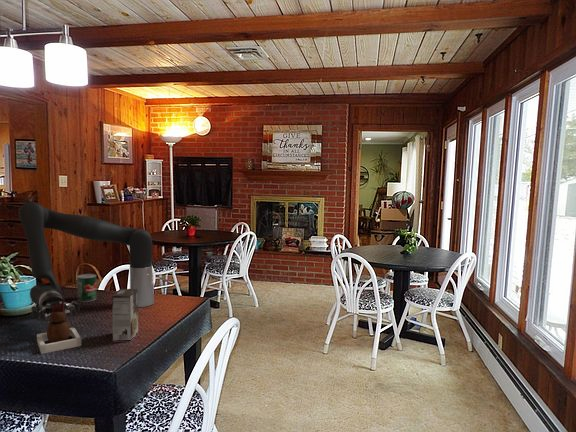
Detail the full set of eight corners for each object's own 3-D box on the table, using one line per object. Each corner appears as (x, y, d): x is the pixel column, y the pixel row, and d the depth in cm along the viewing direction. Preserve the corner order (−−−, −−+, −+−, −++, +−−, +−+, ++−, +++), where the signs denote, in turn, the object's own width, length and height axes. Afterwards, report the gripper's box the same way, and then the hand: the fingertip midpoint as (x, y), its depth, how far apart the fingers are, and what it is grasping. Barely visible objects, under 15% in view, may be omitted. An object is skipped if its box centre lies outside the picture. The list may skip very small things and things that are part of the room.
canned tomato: (90, 302, 182) (90, 278, 181) (73, 301, 182) (73, 277, 181) (100, 297, 189) (99, 274, 188) (83, 296, 190) (83, 273, 189)
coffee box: (120, 331, 148) (120, 288, 146) (138, 331, 148) (138, 288, 147) (111, 341, 138) (111, 295, 137) (131, 341, 139) (130, 295, 138)
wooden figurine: (73, 341, 138) (72, 298, 137) (59, 348, 132) (57, 303, 131) (58, 338, 140) (57, 296, 139) (43, 344, 135) (42, 300, 133)
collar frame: (74, 334, 144) (74, 327, 144) (81, 345, 134) (81, 338, 134) (37, 341, 137) (36, 334, 137) (41, 354, 128) (41, 346, 127)
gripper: (28, 295, 143) (33, 307, 130) (73, 289, 152) (82, 300, 139) (29, 316, 144) (34, 330, 131) (73, 309, 152) (82, 321, 139)
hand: (58, 314), depth 135 cm, fingers open, 8 cm apart
